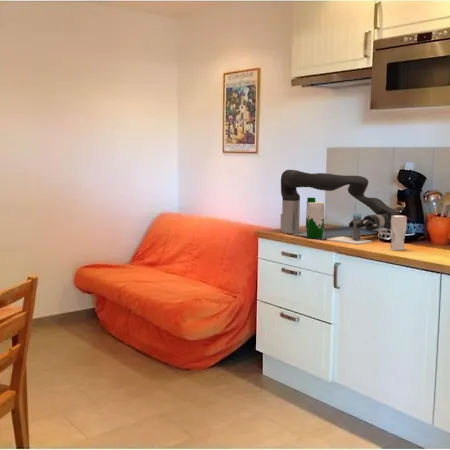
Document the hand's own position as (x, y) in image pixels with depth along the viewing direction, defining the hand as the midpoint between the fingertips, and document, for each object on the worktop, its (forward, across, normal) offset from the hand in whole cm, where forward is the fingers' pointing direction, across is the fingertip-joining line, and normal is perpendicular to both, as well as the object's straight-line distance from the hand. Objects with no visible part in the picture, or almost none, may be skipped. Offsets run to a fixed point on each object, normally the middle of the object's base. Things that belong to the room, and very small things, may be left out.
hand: (353, 225), depth 276 cm
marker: (-3, 0, +7) cm, 8 cm away
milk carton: (+2, -21, +8) cm, 23 cm away
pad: (-2, -3, +8) cm, 9 cm away
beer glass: (+2, +25, +8) cm, 26 cm away
